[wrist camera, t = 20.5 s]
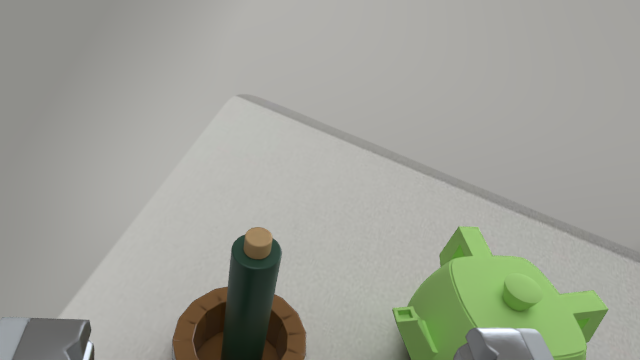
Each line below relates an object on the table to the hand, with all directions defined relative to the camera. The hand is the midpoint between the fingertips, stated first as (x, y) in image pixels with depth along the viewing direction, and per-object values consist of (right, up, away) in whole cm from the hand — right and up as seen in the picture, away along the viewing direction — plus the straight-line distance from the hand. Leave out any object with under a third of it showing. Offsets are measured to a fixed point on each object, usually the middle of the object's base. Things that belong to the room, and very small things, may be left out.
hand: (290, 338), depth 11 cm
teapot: (+11, -11, +24) cm, 29 cm away
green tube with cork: (-5, -9, +22) cm, 24 cm away
